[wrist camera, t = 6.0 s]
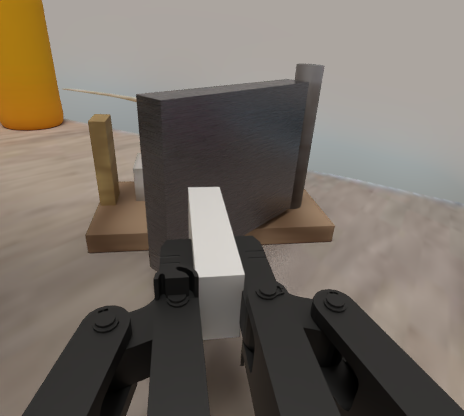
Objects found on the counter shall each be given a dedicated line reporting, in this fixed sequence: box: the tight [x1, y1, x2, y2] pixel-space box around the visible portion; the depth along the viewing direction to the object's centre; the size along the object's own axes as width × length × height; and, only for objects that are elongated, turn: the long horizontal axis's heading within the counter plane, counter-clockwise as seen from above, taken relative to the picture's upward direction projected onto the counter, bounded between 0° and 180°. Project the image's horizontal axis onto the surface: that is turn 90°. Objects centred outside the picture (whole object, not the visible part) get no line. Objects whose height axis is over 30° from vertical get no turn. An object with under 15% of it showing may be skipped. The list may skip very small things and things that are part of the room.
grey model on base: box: [85, 64, 335, 253], centre depth 27 cm, size 19×10×13 cm, turn 99°
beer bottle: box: [0, 0, 63, 130], centre depth 48 cm, size 9×9×29 cm
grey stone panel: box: [136, 79, 309, 272], centre depth 22 cm, size 13×2×10 cm, turn 139°
